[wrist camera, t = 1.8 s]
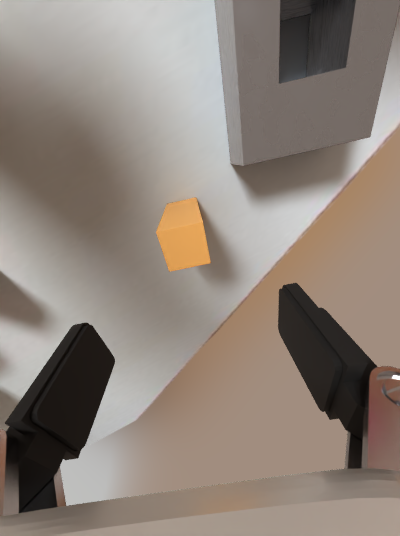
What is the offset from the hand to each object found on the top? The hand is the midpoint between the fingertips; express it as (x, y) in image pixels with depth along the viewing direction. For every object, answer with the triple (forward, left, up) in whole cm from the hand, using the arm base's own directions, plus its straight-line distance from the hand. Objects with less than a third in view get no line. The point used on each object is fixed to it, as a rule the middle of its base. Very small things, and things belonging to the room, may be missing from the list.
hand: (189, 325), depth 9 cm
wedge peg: (0, 0, -20) cm, 20 cm away
